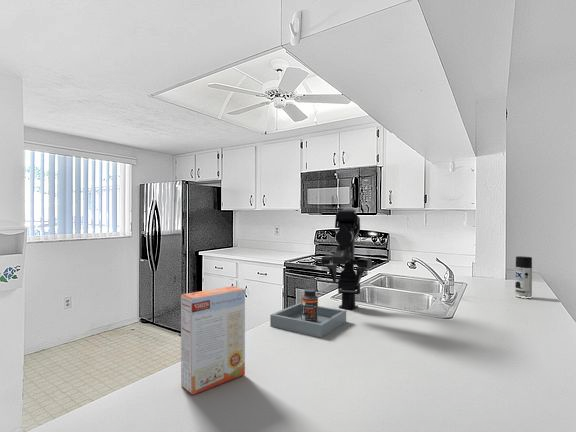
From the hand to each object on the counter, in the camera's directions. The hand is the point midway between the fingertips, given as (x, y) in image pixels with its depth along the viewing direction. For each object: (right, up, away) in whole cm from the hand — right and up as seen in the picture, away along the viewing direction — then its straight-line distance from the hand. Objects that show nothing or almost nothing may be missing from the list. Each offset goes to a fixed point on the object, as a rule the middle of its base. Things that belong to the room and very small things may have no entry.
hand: (345, 284), depth 127 cm
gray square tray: (-14, -13, -7) cm, 21 cm away
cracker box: (-39, -13, -50) cm, 65 cm away
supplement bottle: (-14, -12, -7) cm, 20 cm away
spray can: (+94, -14, +37) cm, 102 cm away
